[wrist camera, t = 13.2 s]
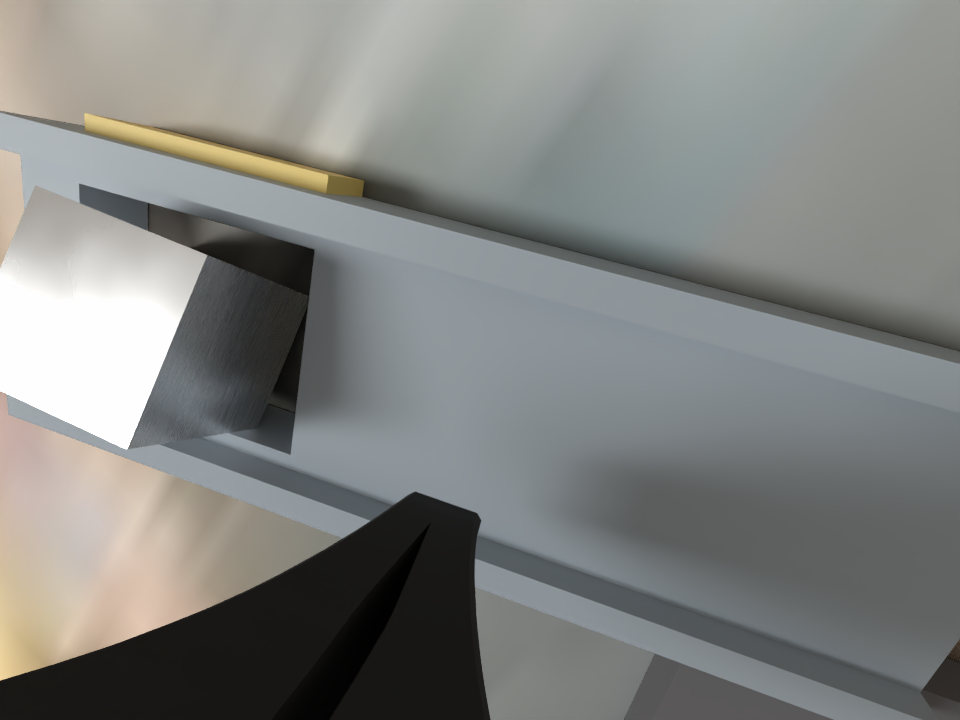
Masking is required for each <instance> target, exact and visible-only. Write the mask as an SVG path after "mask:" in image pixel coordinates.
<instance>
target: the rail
mask: <svg viewBox="0 0 960 720" xmlns="http://www.w3.org/2000/svg"><path fill="white" fill-rule="evenodd" d="M84 115H85V126H82V125H77V124H71V123H65V122H60V121H54V120H49V119H43V118H38V117H32V116H26V115H21V114H15V113H10V112H4V111H0V149H2V150H6V151H10V152H13V153H17V154H20V156H21V169H22V183H23V196H24V210H25V208H26V206H27V204H28V201H29V199H30V196H31V194H32V192H33V189H34V187H35V185H36V186H39V187H41V188H44V189H46V190H48V191H51V192H53V193H56V194H58V195H61V196H63V197H66V198H68V199H71V200H73V201H76V202H78V203H81V204H83V205H86V206H88V207H90V208H93V209H95V210H98V211H100V212H103V213H105V214H108V215H110V216H113V217H115V218H118V219H120V220H123V221H125V222H128V223H130V224H132V225H135V226H137V227H140V228H142V229H145V230H147V231H148V203H151V204H154V205H158V206H161V207H165V208H169V209H172V210H176V211H179V212H183V213H186V214H190V215H194V216H197V217H201V218H204V219H208V220H211V221H215V222H219V223H222V224H226V225H229V226H233V227H237V228H240V229H244V230H247V231H251V232H254V233H258V234H262V235H265V236H269V237H272V238H276V239H279V240H283V241H287V242H290V243H294V244H297V245H301V246H304V247H308V248H312V249H315V252H314V261H313V269H312V278H311V286H310V294H309V303H308V311H307V320H306V328H305V337H304V345H303V354H302V362H301V371H300V379H299V388H298V396H297V404H296V413H292V412H289V411H286V410H283V409H280V408H277V407H274V406H271V405H268V404H267V406H266V408H265V411H264V413H263V416H262V418H261V421H260V423H259V425H258V428H256V429H250V430H244V431H238V432H232V433H226V434H219V435H213V436H207V437H201V438H195V439H189V440H182V441H176V442H170V443H164V444H158V445H152V446H145V447H139V448H133V449H125V448H123V447H120V446H118V445H116V444H114V443H112V442H110V441H108V440H105V439H103V438H101V437H99V436H97V435H95V434H93V433H90V432H88V431H86V430H84V429H82V428H80V427H78V426H75V425H73V424H71V423H69V422H67V421H65V420H63V419H61V418H58V417H56V416H54V415H52V414H50V413H48V412H46V411H43V410H41V409H39V408H37V407H35V406H33V405H31V404H28V403H26V402H24V401H22V400H20V399H18V398H16V397H13V396H11V395H9V394H7V403H8V414H9V415H11V416H13V417H16V418H19V419H22V420H24V421H27V422H30V423H32V424H35V425H38V426H41V427H43V428H46V429H49V430H51V431H54V432H57V433H59V434H62V435H65V436H68V437H70V438H73V439H76V440H78V441H81V442H84V443H87V444H89V445H92V446H95V447H97V448H100V449H103V450H105V451H108V452H111V453H114V454H116V455H119V456H122V457H124V458H127V459H130V460H133V461H135V462H138V463H141V464H143V465H146V466H149V467H151V468H154V469H157V470H160V471H162V472H165V473H168V474H170V475H173V476H176V477H179V478H181V479H184V480H187V481H189V482H192V483H195V484H197V485H200V486H203V487H206V488H208V489H211V490H214V491H216V492H219V493H222V494H225V495H227V496H230V497H233V498H235V499H238V500H241V501H243V502H246V503H249V504H252V505H254V506H257V507H260V508H262V509H265V510H268V511H271V512H273V513H276V514H279V515H281V516H284V517H287V518H289V519H292V520H295V521H298V522H300V523H303V524H306V525H308V526H311V527H314V528H317V529H319V530H322V531H325V532H327V533H330V534H333V535H335V536H338V537H341V538H344V537H346V536H347V535H349V534H351V533H352V532H354V531H356V530H357V529H359V528H360V527H362V526H363V525H365V524H367V523H368V522H370V521H371V520H373V519H374V518H376V517H377V516H379V515H380V514H381V513H383V512H384V511H386V510H387V509H389V508H390V507H392V506H393V505H394V504H396V503H397V502H399V501H400V500H402V499H403V498H404V497H406V496H407V495H409V494H411V493H413V492H415V491H416V492H418V493H421V494H424V495H427V496H430V497H433V498H436V499H438V500H441V501H444V502H447V503H450V504H453V505H456V506H458V507H461V508H464V509H467V510H470V511H473V512H476V513H478V515H479V517H480V519H481V524H480V528H479V531H478V535H477V541H476V551H475V587H476V588H479V589H482V590H484V591H487V592H490V593H492V594H495V595H498V596H501V597H503V598H506V599H509V600H511V601H514V602H517V603H519V604H522V605H525V606H528V607H530V608H533V609H536V610H538V611H541V612H544V613H546V614H549V615H552V616H555V617H557V618H560V619H563V620H565V621H568V622H571V623H574V624H576V625H579V626H582V627H584V628H587V629H590V630H592V631H595V632H598V633H601V634H603V635H606V636H609V637H611V638H614V639H617V640H620V641H622V642H625V643H628V644H630V645H633V646H636V647H638V648H641V649H644V650H647V651H649V652H652V653H655V654H657V655H660V656H663V657H666V658H668V659H671V660H674V661H676V662H679V663H682V664H684V665H687V666H690V667H693V668H695V669H698V670H701V671H703V672H706V673H709V674H712V675H714V676H717V677H720V678H722V679H725V680H728V681H730V682H733V683H736V684H739V685H741V686H744V687H747V688H749V689H752V690H755V691H758V692H760V693H763V694H766V695H768V696H771V697H774V698H776V699H779V700H782V701H785V702H787V703H790V704H793V705H795V706H798V707H801V708H804V709H806V710H809V711H812V712H814V713H817V714H820V715H822V716H825V717H828V718H831V719H833V720H939V719H938V718H937V716H936V715H935V713H934V712H933V711H932V709H931V708H930V706H929V705H928V703H927V702H926V700H925V699H924V697H923V696H922V694H921V693H920V692H921V691H922V689H923V688H924V687H925V685H926V684H927V683H928V681H929V680H930V678H931V677H932V676H933V674H934V673H935V672H936V670H937V669H938V668H939V666H940V665H941V664H942V662H943V661H944V660H945V658H946V657H947V656H948V654H949V653H950V652H951V650H952V649H953V648H954V646H955V645H956V643H957V642H958V641H959V639H960V351H956V350H953V349H949V348H945V347H941V346H937V345H933V344H929V343H925V342H922V341H918V340H914V339H910V338H906V337H902V336H898V335H895V334H891V333H887V332H883V331H879V330H875V329H871V328H867V327H864V326H860V325H856V324H852V323H848V322H844V321H840V320H837V319H833V318H829V317H825V316H821V315H817V314H813V313H809V312H806V311H802V310H798V309H794V308H790V307H786V306H782V305H779V304H775V303H771V302H767V301H763V300H759V299H755V298H751V297H748V296H744V295H740V294H736V293H732V292H728V291H724V290H721V289H717V288H713V287H709V286H705V285H701V284H697V283H693V282H690V281H686V280H682V279H678V278H674V277H670V276H666V275H663V274H659V273H655V272H651V271H647V270H643V269H639V268H635V267H632V266H628V265H624V264H620V263H616V262H612V261H608V260H605V259H601V258H597V257H593V256H589V255H585V254H581V253H577V252H574V251H570V250H566V249H562V248H558V247H554V246H550V245H547V244H543V243H539V242H535V241H531V240H527V239H523V238H519V237H516V236H512V235H508V234H504V233H500V232H496V231H492V230H489V229H485V228H481V227H477V226H473V225H469V224H465V223H461V222H458V221H454V220H450V219H446V218H442V217H438V216H434V215H431V214H427V213H423V212H419V211H415V210H411V209H407V208H403V207H400V206H396V205H392V204H388V203H384V202H380V201H376V200H373V199H369V198H365V197H362V194H363V187H364V181H363V180H359V179H355V178H351V177H348V176H344V175H340V174H336V173H332V172H328V171H324V170H320V169H316V168H312V167H308V166H304V165H300V164H296V163H292V162H288V161H284V160H280V159H276V158H273V157H269V156H265V155H261V154H257V153H253V152H249V151H245V150H241V149H237V148H233V147H229V146H225V145H221V144H217V143H213V142H209V141H205V140H201V139H198V138H194V137H190V136H186V135H182V134H178V133H174V132H170V131H166V130H162V129H158V128H154V127H150V126H146V125H141V124H136V123H131V122H126V121H121V120H116V119H111V118H106V117H102V116H97V115H92V114H87V113H84Z"/></svg>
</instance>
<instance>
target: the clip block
mask: <svg viewBox="0 0 960 720" xmlns="http://www.w3.org/2000/svg"><path fill="white" fill-rule="evenodd" d="M308 303H309V296H307V295H305V294H302V293H300V292H297V291H295V290H292V289H290V288H287V287H285V286H283V285H280V284H278V283H275V282H273V281H270V280H268V279H265V278H263V277H260V276H258V275H256V274H253V273H251V272H248V271H246V270H243V269H241V268H238V267H236V266H233V265H231V264H229V263H226V262H224V261H221V260H219V259H216V258H214V257H211V256H209V255H206V254H204V253H202V252H199V251H197V250H194V249H192V248H189V247H187V246H184V245H182V244H179V243H177V242H174V241H172V240H169V239H167V238H165V237H162V236H160V235H157V234H155V233H152V232H150V231H147V230H145V229H142V228H140V227H137V226H135V225H132V224H130V223H128V222H125V221H123V220H120V219H118V218H115V217H113V216H110V215H108V214H105V213H103V212H100V211H98V210H95V209H93V208H90V207H88V206H86V205H83V204H81V203H78V202H76V201H73V200H71V199H68V198H66V197H63V196H61V195H58V194H56V193H53V192H51V191H48V190H46V189H44V188H41V187H39V186H36V185H35V187H34V189H33V192H32V194H31V196H30V199H29V201H28V204H27V206H26V208H25V211H24V213H23V215H22V218H21V220H20V223H19V225H18V227H17V230H16V232H15V235H14V237H13V239H12V242H11V244H10V247H9V249H8V251H7V254H6V256H5V259H4V261H3V263H2V266H1V268H0V390H1V391H3V392H5V393H7V394H9V395H11V396H13V397H16V398H18V399H20V400H22V401H24V402H26V403H28V404H31V405H33V406H35V407H37V408H39V409H41V410H43V411H46V412H48V413H50V414H52V415H54V416H56V417H58V418H61V419H63V420H65V421H67V422H69V423H71V424H73V425H75V426H78V427H80V428H82V429H84V430H86V431H88V432H90V433H93V434H95V435H97V436H99V437H101V438H103V439H105V440H108V441H110V442H112V443H114V444H116V445H118V446H120V447H123V448H125V449H133V448H139V447H145V446H152V445H158V444H164V443H170V442H176V441H182V440H189V439H195V438H201V437H207V436H213V435H219V434H226V433H232V432H238V431H244V430H250V429H256V428H258V425H259V423H260V421H261V418H262V416H263V413H264V411H265V408H266V406H267V404H268V401H269V399H270V396H271V394H272V391H273V389H274V387H275V384H276V382H277V379H278V377H279V374H280V372H281V370H282V367H283V365H284V362H285V360H286V357H287V355H288V353H289V350H290V348H291V345H292V343H293V340H294V338H295V335H296V333H297V331H298V328H299V326H300V323H301V321H302V318H303V316H304V314H305V311H306V309H307V306H308Z"/></svg>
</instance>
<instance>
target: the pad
mask: <svg viewBox="0 0 960 720" xmlns="http://www.w3.org/2000/svg"><path fill="white" fill-rule="evenodd" d="M920 693H921V694H922V696H923V697H924V699H925V700H926V702H927V703H928V705H929V706H930V708H931V709H932V711H933V712H934V713H935V715H936V716H937V718H938V719H939V720H960V663H959V662H956V661H953V660H950V659H947V658H945V660H944V661H943V662H942V664H941V665H940V666H939V668H938V669H937V670H936V672H935V673H934V674H933V676H932V677H931V678H930V680H929V681H928V683H927V684H926V685H925V687H924V688H923V689H922V691H921V692H920ZM624 720H833V719H831V718H828V717H825V716H822V715H820V714H817V713H814V712H812V711H809V710H806V709H804V708H801V707H798V706H795V705H793V704H790V703H787V702H785V701H782V700H779V699H776V698H774V697H771V696H768V695H766V694H763V693H760V692H758V691H755V690H752V689H749V688H747V687H744V686H741V685H739V684H736V683H733V682H730V681H728V680H725V679H722V678H720V677H717V676H714V675H712V674H709V673H706V672H703V671H701V670H698V669H695V668H693V667H690V666H687V665H684V664H682V663H679V662H676V661H674V660H671V659H668V658H666V657H663V656H660V655H657V654H655V655H654V657H653V659H652V662H651V664H650V666H649V668H648V670H647V672H646V674H645V676H644V678H643V681H642V683H641V685H640V687H639V689H638V691H637V693H636V695H635V697H634V700H633V702H632V704H631V706H630V708H629V710H628V712H627V714H626V716H625V719H624Z"/></svg>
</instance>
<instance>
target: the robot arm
mask: <svg viewBox="0 0 960 720" xmlns="http://www.w3.org/2000/svg"><path fill="white" fill-rule="evenodd" d="M480 524H481V519H480V517H479V515H478V513H476V512H473V511H470V510H467V509H464V508H461V507H458V506H456V505H453V504H450V503H447V502H444V501H441V500H438V499H436V498H433V497H430V496H427V495H424V494H421V493H418V492H416V491H415V492H413V493H411V494H409V495H407V496H406V497H404V498H403V499H402V500H400V501H399V502H397V503H396V504H394V505H393V506H392V507H390V508H389V509H387V510H386V511H384V512H383V513H381V514H380V515H379V516H377V517H376V518H374V519H373V520H371V521H370V522H368V523H367V524H365V525H363V526H362V527H360V528H359V529H357V530H356V531H354V532H352V533H351V534H349V535H347V536H346V537H344V538H343V539H341V540H339V541H338V542H336V543H335V544H333V545H331V546H330V547H328V548H326V549H325V550H323V551H321V552H319V553H318V554H316V555H314V556H312V557H310V558H308V559H307V560H305V561H303V562H301V563H299V564H298V565H296V566H294V567H292V568H290V569H288V570H287V571H285V572H283V573H281V574H279V575H277V576H275V577H273V578H271V579H269V580H267V581H265V582H263V583H261V584H259V585H257V586H255V587H253V588H251V589H249V590H247V591H245V592H243V593H241V594H238V595H236V596H234V597H232V598H230V599H227V600H225V601H223V602H221V603H219V604H216V605H214V606H212V607H210V608H207V609H205V610H202V611H200V612H197V613H195V614H193V615H190V616H188V617H185V618H183V619H180V620H178V621H175V622H173V623H170V624H168V625H165V626H162V627H160V628H157V629H154V630H152V631H149V632H146V633H144V634H141V635H139V636H136V637H133V638H131V639H128V640H125V641H123V642H120V643H117V644H114V645H112V646H109V647H106V648H103V649H100V650H97V651H94V652H91V653H88V654H85V655H82V656H78V657H75V658H72V659H69V660H66V661H63V662H60V663H57V664H54V665H50V666H47V667H44V668H41V669H37V670H34V671H31V672H27V673H24V674H21V675H18V676H14V677H11V678H8V679H4V680H1V681H0V720H490V715H489V709H488V704H487V698H486V692H485V686H484V680H483V673H482V665H481V658H480V649H479V639H478V630H477V618H476V600H475V551H476V541H477V535H478V531H479V528H480Z"/></svg>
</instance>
